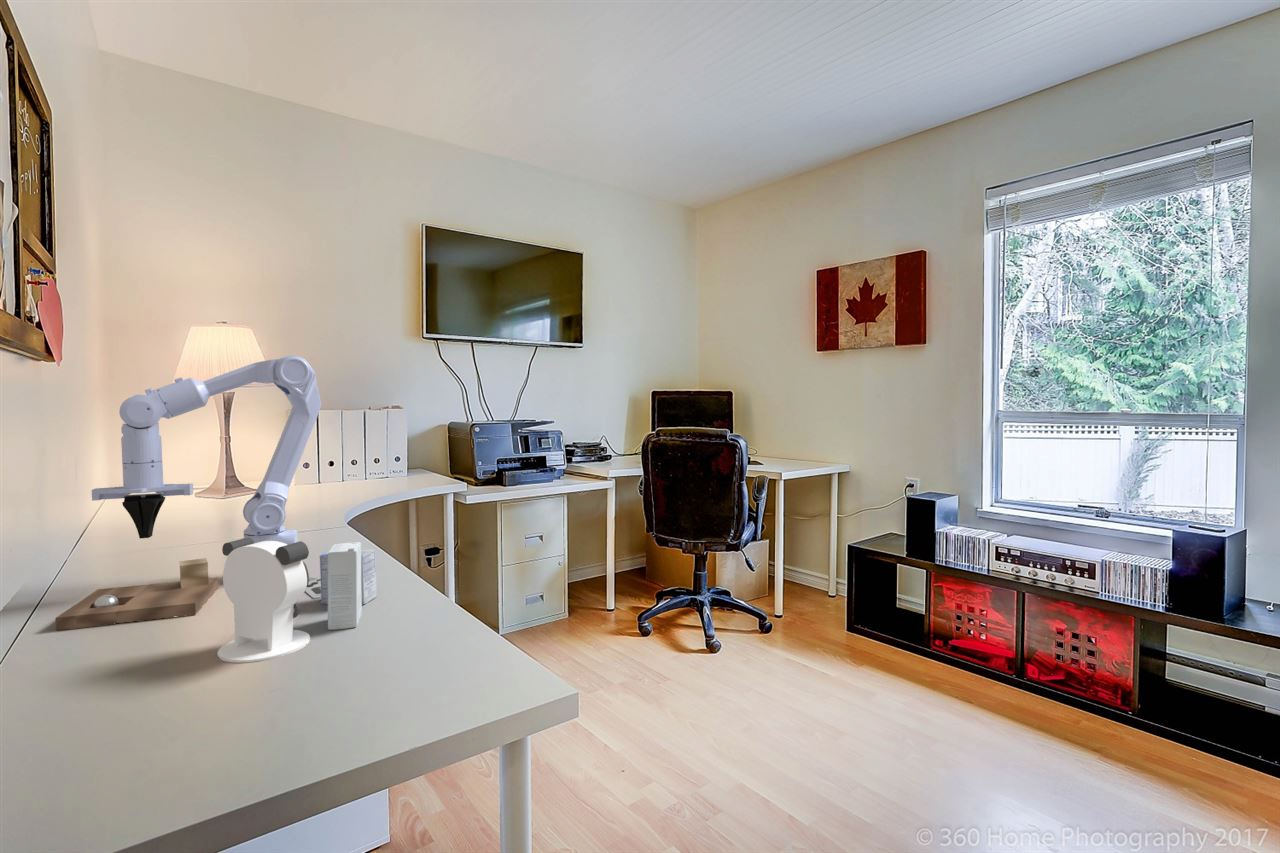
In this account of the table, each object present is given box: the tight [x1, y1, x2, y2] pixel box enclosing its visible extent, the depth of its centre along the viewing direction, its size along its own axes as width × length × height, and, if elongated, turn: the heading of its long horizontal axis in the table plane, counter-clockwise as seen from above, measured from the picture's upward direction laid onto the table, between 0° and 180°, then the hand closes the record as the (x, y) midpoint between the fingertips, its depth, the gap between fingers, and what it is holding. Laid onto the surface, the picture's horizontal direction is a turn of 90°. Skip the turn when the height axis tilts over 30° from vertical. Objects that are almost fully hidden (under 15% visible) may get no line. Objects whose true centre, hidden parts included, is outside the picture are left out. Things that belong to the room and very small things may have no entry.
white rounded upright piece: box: [217, 537, 311, 664], centre depth 91 cm, size 12×11×15 cm
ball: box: [94, 595, 119, 608], centre depth 106 cm, size 3×3×3 cm
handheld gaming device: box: [304, 575, 321, 600], centre depth 122 cm, size 9×1×15 cm
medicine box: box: [319, 548, 378, 605], centre depth 112 cm, size 8×4×9 cm, turn 84°
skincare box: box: [327, 541, 363, 631], centre depth 101 cm, size 6×4×12 cm
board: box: [55, 577, 219, 632], centre depth 109 cm, size 18×16×2 cm
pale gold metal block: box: [179, 557, 209, 589], centre depth 116 cm, size 4×4×4 cm
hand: (145, 537), depth 117 cm, fingers closed
